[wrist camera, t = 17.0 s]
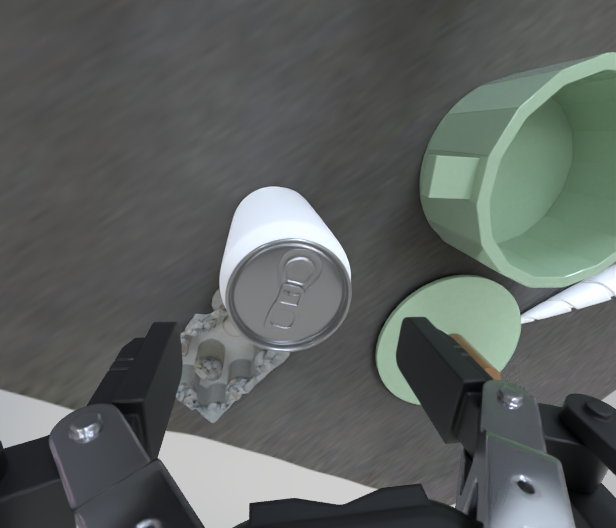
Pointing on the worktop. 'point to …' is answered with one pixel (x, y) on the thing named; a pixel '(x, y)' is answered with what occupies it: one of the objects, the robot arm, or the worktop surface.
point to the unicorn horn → (576, 296)
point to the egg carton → (220, 363)
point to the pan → (530, 173)
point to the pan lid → (455, 325)
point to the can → (283, 273)
